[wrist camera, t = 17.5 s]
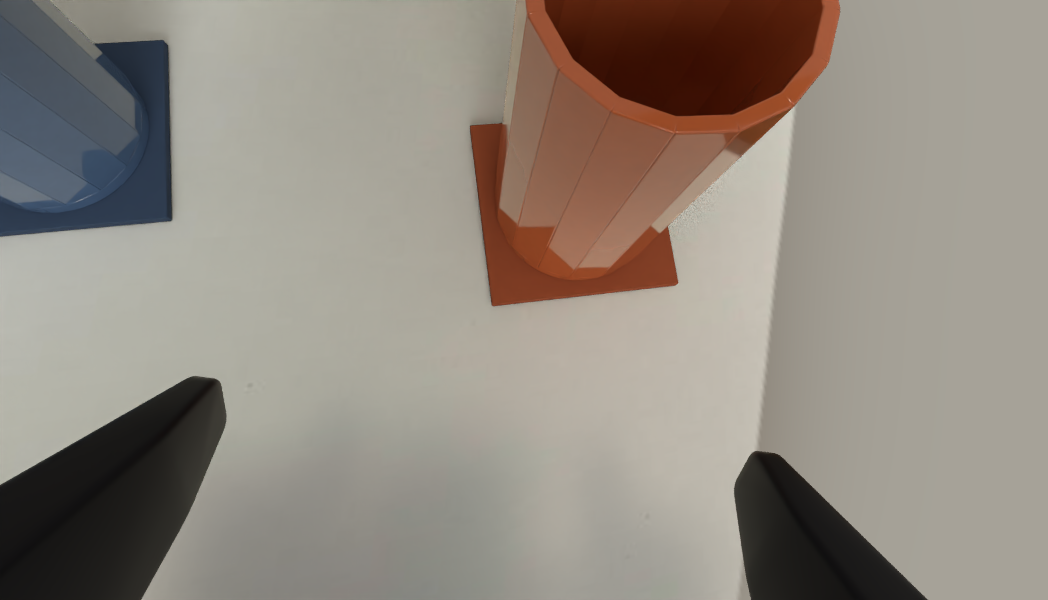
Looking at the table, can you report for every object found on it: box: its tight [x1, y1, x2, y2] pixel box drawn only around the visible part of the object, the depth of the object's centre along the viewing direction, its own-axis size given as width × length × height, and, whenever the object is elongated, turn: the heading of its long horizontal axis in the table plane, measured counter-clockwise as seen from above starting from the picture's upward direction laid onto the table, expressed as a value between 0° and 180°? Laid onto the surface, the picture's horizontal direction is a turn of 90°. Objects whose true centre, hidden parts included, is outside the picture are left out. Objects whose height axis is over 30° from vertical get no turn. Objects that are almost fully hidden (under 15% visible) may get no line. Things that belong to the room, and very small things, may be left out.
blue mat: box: [0, 40, 172, 236], centre depth 23 cm, size 8×8×1 cm
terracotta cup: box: [495, 0, 840, 280], centre depth 18 cm, size 7×7×13 cm
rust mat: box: [470, 123, 678, 306], centre depth 25 cm, size 8×8×1 cm
